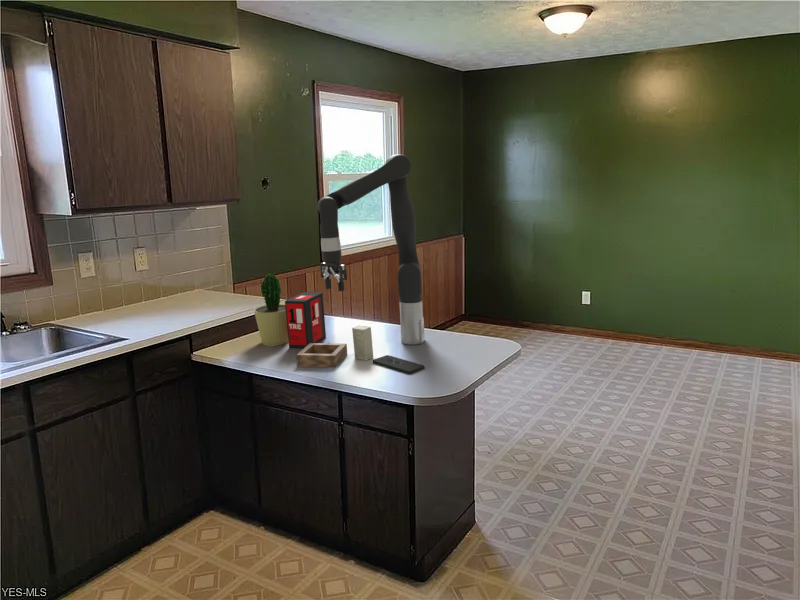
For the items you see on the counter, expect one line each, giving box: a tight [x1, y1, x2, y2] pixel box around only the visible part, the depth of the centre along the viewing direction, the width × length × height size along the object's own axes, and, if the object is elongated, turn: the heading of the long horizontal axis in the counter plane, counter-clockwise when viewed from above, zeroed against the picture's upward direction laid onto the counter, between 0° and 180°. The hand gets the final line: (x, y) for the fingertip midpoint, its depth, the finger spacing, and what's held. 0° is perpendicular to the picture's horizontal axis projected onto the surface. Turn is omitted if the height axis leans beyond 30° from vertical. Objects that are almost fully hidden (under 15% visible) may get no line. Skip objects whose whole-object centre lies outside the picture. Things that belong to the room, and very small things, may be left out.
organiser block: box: [295, 342, 348, 368], centre depth 230 cm, size 15×15×4 cm
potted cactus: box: [253, 272, 289, 347], centre depth 255 cm, size 15×15×30 cm
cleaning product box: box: [284, 291, 327, 350], centre depth 252 cm, size 16×9×20 cm, turn 162°
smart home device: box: [371, 354, 425, 375], centre depth 221 cm, size 8×2×20 cm
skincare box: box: [351, 324, 374, 361], centre depth 230 cm, size 6×4×12 cm
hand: (335, 289), depth 238 cm, fingers open, 8 cm apart
